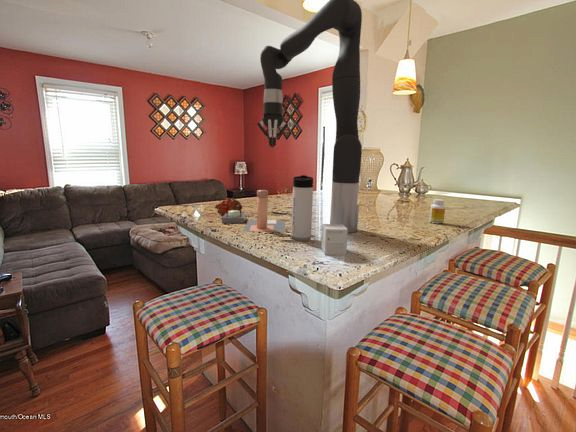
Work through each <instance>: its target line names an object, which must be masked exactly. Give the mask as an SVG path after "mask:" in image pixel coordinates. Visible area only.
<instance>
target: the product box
mask: <svg viewBox="0 0 576 432" xmlns="http://www.w3.org/2000/svg"><path fill="white" fill-rule="evenodd" d="M321 227H322V228H321V230H322V231H321V244H320V248H321V250H322V252H323V254H324V255H327V256H328V255H331V256H333V255H334V256H335V255H336V256H346V255H347V248H348V234H349V233H348V229H347V228H346V227H345V226H344V225H338V224H330V223H329V224H328V223H326V224H325V223H323V224H322V226H321Z"/></svg>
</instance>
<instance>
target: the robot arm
mask: <svg viewBox="0 0 576 432" xmlns="http://www.w3.org/2000/svg"><path fill="white" fill-rule="evenodd" d="M362 13H363V12H362V9H361V6H360V4H359V3H358V2H357V1H356V0H329V1H327V2H326V3H325V4H324V5H323V6H322V7H321V8H320V9H319V10H318V11H317V12H316V13H315V14H314V15H313V16H312V17H311V18H309V20H308V21H307V22H306V23H304V24H303V25H302V26H301V27H299V28H298V29H296V30H295V31H293V33H291V34H289V35H288V36H286V37H285V38H284V39H282V40H281V41H280V44H279V48H277V47H274V46H271V45H265V46H264V47H263V48H262V50H261V52H260V60H259V61H260V64H261V65H260V67H261V69H262V70H261V71H262V74H263V79H264V83H263V84H264V85H263V86H264V90H263V116H262V119H261V120H260V122H257V123H256V124H257V127H258V128H259V129H260V130H261V132H262V133H263V135H264V136H265V137H268V146H270V148H275V146H276V145H277V138H278V137H281V136H282V134H283V133H284V132H285V130H287V128H288V127H289V124H288V123H286V122H285V121H284V117H283V104H284V103H283V99H284V98H283V77H282V76H281V75H280V74H279V73H278V72H277V70H281V69H283V68H286V67H287V65H288V64H289V63H290V62H291V61H292V60H293V59H294V58H295V57H297V56H299V55H300V54H302V53H304V52H305V51H307V50H308V49H309V48H310V47H311V45H313V42H314V41H315V39H317V37H318V36H319V35H320V34H323V32H326V31H329V30H331V29H333V30H337V31H338V35H339V37H338V38H339V51H338V52H339V53H338V57H337V60H336V62H335V64H334V67H333V70H332V71H333V72H332V75H331V86H332V87H331V88H332V101H333V102H332V103H333V109H334V115H335V124H336V125H335V128H336V129H335V142H334V146H333V154H332V155H333V157H332V159H333V160H332V174H331V175H332V176H331V177H332V181H331V182H332V183H331V196H330V197H331V198H330V199H331V200H330V216H329V218H330V219H329V220H330V221H329V224H338V225H344V226H345V227H346V228H347V229H348V234H349V233H356V232H358V226H359V225H358V224H359V208H360V205H359V204H358V201H359V200H358V199H359V198H358V197H359V185H360V176H361V166H362V153H363V151H362V150H363V148H362V147H363V146H362V142H361V140H360V137H359V127H358V117H359V109H360V102H361V56H360V55H361V52H360V51H361V50H360V47H361V35H362V33H361V32H362V22H363V20H362V19H363V16H362V15H363V14H362ZM264 125H265V127H266V128H267V130H268V132H267V130H265V128H264ZM280 127H282V128H281V129H280V130H279V132H277V130H278V129H279V128H280ZM272 129H273V130H272Z"/></svg>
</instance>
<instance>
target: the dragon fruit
mask: <svg viewBox="0 0 576 432" xmlns="http://www.w3.org/2000/svg"><path fill="white" fill-rule="evenodd" d="M214 209H215V210H217V213H218V214H219V215H224V214H225V213H228V211H230V210H238V211H240V214H242V209H243V205H242V204H241V202H240V201H239V200H237V199H235V198H234V197H231V198H229V197H227V198H224V200H222V201H221V202H220V203H218V204H216V205H215V206H214Z"/></svg>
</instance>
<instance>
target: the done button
mask: <svg viewBox="0 0 576 432" xmlns="http://www.w3.org/2000/svg"><path fill="white" fill-rule="evenodd" d="M240 214H241V213H240V211H238V210H230V211H228V217H240Z"/></svg>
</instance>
